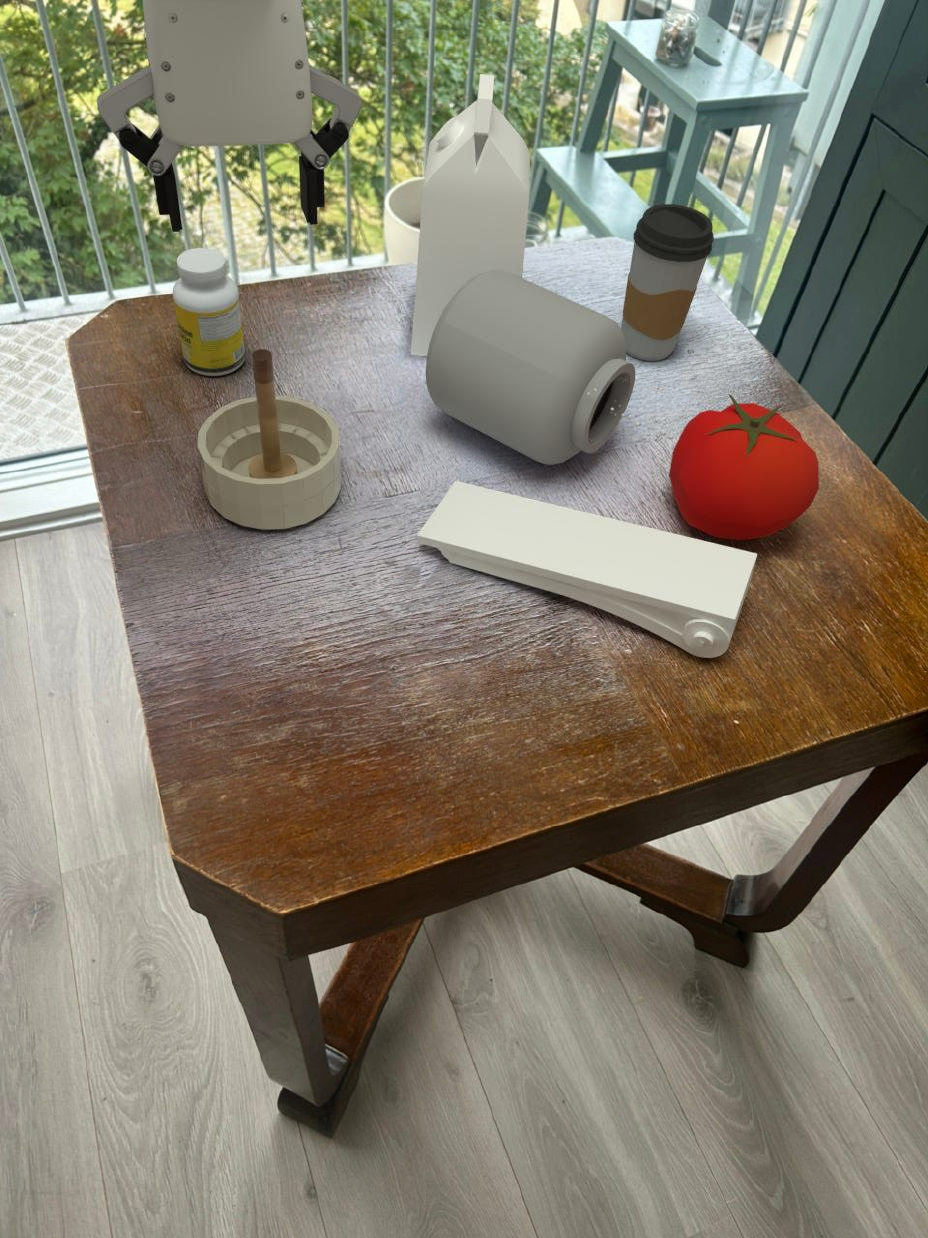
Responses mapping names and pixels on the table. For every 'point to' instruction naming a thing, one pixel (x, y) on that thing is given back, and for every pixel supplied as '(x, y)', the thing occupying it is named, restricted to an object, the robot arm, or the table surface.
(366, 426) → the table surface
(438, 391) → the jar
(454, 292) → the milk
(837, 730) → the table surface
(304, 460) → the bowl
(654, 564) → the wall bracket
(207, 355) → the pill bottle
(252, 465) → the stirrer
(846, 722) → the table surface
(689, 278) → the coffee cup
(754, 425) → the tomato
